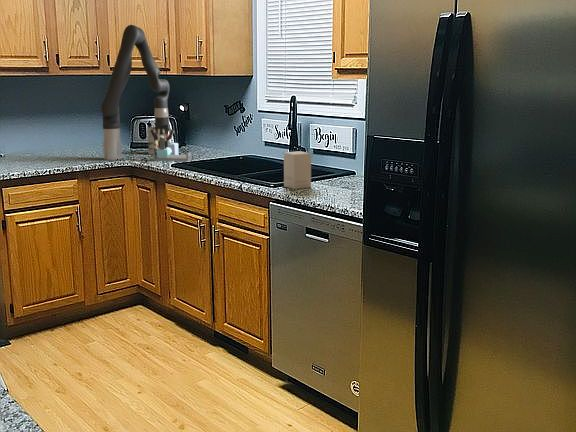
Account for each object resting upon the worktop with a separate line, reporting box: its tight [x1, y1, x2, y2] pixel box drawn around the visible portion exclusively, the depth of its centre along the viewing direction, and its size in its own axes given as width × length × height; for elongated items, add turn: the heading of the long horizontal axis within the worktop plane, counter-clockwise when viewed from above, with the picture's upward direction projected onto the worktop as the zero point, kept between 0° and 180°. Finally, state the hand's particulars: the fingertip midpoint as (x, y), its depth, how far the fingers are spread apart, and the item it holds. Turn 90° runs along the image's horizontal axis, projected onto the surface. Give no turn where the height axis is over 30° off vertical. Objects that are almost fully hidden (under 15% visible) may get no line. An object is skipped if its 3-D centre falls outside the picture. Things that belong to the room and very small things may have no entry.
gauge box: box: [167, 142, 180, 155], centre depth 364 cm, size 8×8×8 cm
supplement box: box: [283, 150, 312, 190], centre depth 275 cm, size 9×9×15 cm
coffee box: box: [147, 126, 164, 156], centre depth 378 cm, size 9×6×16 cm
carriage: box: [157, 138, 170, 158], centre depth 353 cm, size 6×5×10 cm
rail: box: [152, 151, 192, 162], centre depth 354 cm, size 20×6×4 cm, turn 82°
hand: (163, 147), depth 353 cm, fingers closed on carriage, 2 cm apart
